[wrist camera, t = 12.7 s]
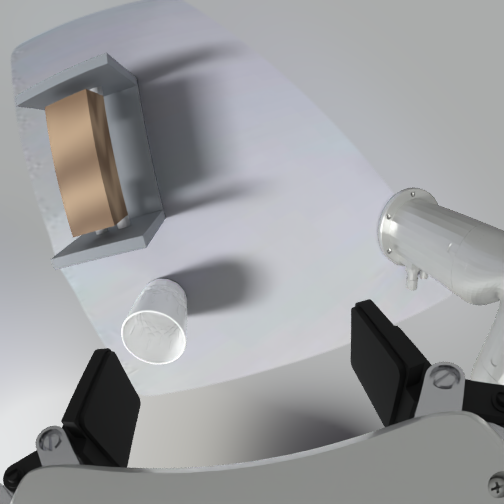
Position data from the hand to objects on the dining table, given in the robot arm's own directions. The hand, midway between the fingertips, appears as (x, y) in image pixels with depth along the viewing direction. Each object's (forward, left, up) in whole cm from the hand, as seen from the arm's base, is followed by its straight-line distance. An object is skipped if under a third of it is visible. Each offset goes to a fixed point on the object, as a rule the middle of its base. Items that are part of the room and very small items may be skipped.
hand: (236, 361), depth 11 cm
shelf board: (+10, +13, -24) cm, 28 cm away
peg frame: (+10, +13, -30) cm, 34 cm away
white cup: (-11, +11, -30) cm, 34 cm away
